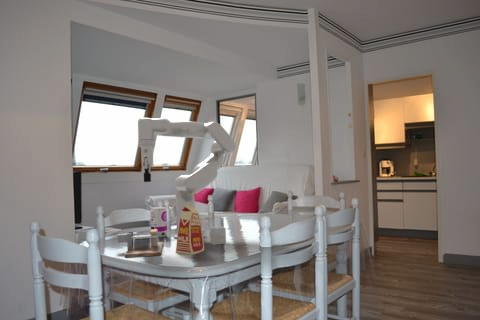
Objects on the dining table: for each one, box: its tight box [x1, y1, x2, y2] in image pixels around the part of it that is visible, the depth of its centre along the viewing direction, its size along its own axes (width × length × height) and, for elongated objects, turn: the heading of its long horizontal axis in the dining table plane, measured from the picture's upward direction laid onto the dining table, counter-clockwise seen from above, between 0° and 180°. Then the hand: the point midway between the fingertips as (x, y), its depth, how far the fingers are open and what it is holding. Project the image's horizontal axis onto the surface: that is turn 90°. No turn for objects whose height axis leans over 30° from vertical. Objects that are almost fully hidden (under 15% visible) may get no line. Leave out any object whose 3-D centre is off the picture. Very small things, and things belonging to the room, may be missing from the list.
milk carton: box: [175, 204, 205, 256], centre depth 157 cm, size 9×9×20 cm
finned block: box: [133, 238, 151, 250], centre depth 162 cm, size 6×7×4 cm
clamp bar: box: [117, 233, 157, 244], centre depth 162 cm, size 16×3×3 cm, turn 99°
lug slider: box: [149, 229, 159, 246], centre depth 164 cm, size 3×7×7 cm, turn 9°
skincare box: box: [209, 225, 227, 246], centre depth 173 cm, size 6×6×7 cm
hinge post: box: [126, 231, 134, 250], centre depth 161 cm, size 2×5×7 cm, turn 9°
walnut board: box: [124, 241, 164, 258], centre depth 162 cm, size 14×23×1 cm, turn 9°
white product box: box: [150, 206, 168, 239], centre depth 197 cm, size 8×8×15 cm
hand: (147, 181), depth 181 cm, fingers closed
